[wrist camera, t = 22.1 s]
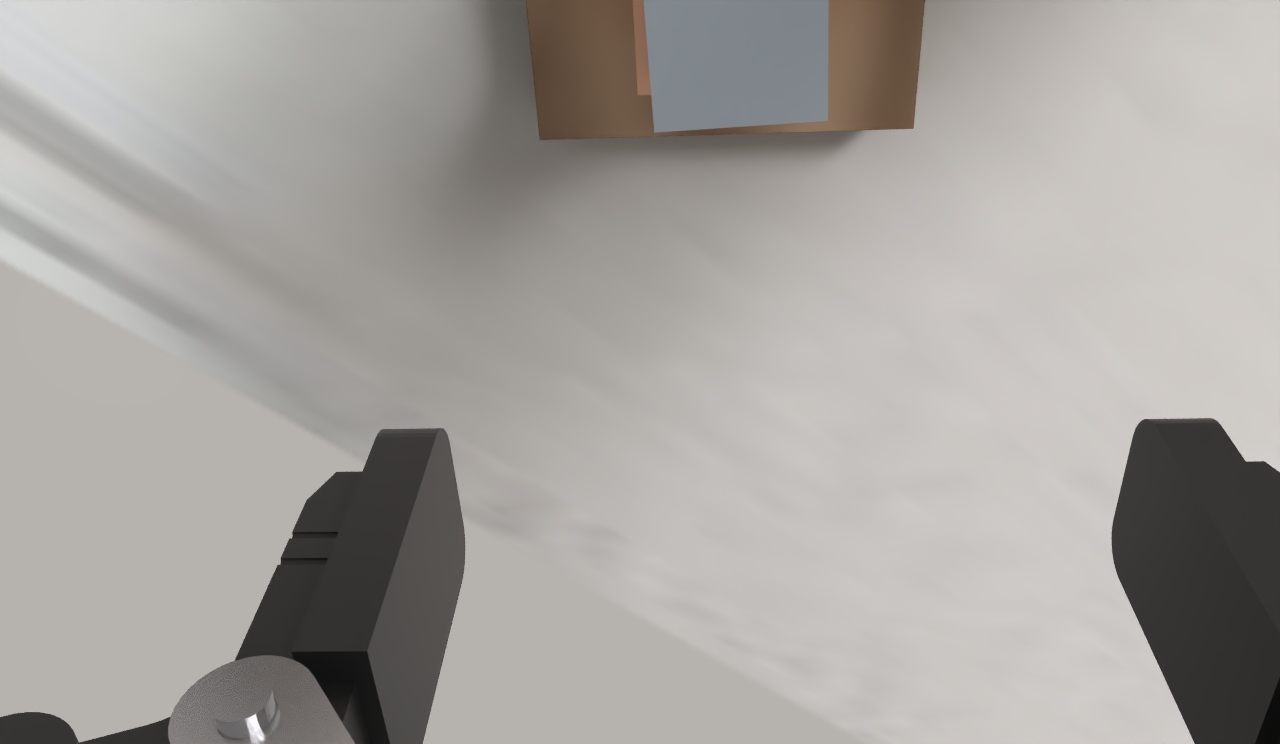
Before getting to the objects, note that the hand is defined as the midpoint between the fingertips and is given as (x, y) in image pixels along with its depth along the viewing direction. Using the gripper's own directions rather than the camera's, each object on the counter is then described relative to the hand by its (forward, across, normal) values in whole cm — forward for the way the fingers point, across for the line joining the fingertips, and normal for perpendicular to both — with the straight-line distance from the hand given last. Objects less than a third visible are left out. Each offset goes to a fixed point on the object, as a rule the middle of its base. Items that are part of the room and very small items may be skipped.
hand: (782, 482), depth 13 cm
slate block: (+22, 0, 0) cm, 22 cm away
